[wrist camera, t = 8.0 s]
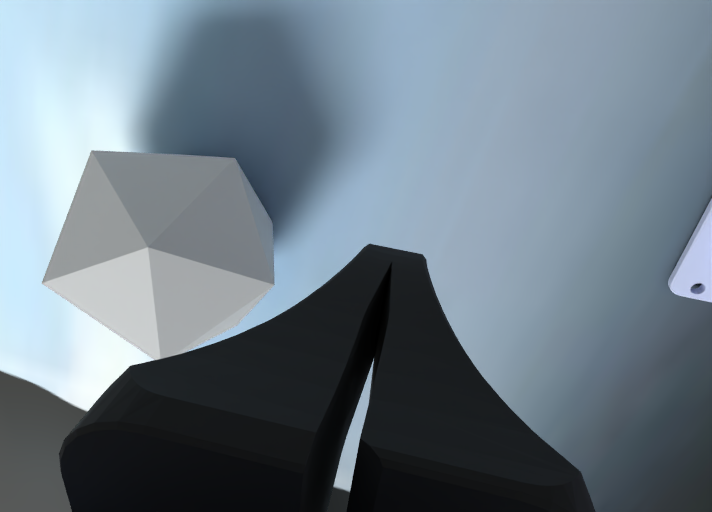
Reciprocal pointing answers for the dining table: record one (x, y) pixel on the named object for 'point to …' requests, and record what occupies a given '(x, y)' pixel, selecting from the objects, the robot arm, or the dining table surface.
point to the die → (164, 248)
